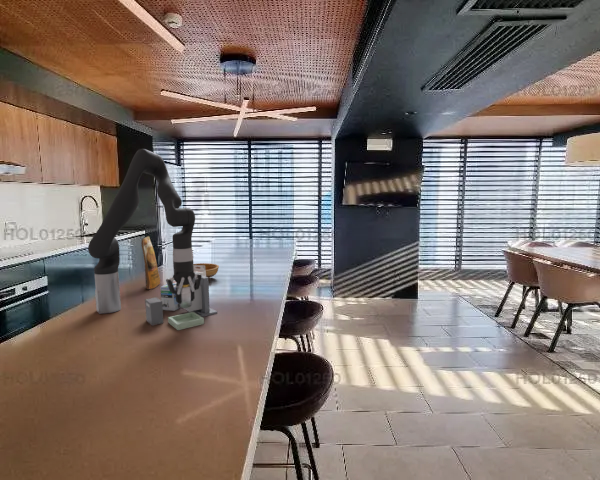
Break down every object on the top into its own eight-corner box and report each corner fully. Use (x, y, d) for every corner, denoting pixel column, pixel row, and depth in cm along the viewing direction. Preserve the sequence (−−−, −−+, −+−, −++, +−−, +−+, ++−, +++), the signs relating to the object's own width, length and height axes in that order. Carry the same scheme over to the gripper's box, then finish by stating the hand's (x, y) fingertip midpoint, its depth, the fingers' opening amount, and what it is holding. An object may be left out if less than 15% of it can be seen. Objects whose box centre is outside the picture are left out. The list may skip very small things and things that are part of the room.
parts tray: (177, 330, 134) (177, 324, 133) (168, 322, 142) (167, 317, 141) (204, 323, 140) (203, 318, 140) (193, 316, 148) (193, 311, 148)
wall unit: (191, 319, 145) (189, 281, 143) (177, 309, 158) (175, 274, 156) (217, 313, 153) (215, 277, 151) (201, 304, 165) (200, 270, 163)
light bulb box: (174, 311, 156) (173, 287, 155) (161, 310, 157) (159, 286, 156) (187, 303, 166) (186, 281, 165) (174, 303, 168) (172, 280, 166)
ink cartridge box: (187, 294, 181) (186, 266, 179) (191, 292, 186) (190, 264, 184) (203, 295, 180) (202, 266, 179) (207, 292, 185) (205, 265, 184)
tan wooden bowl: (180, 275, 225) (180, 263, 224) (219, 273, 230) (219, 261, 229) (174, 287, 196) (173, 273, 195) (219, 284, 201) (218, 271, 200)
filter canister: (182, 308, 137) (181, 286, 136) (178, 305, 141) (177, 284, 139) (193, 306, 140) (192, 284, 139) (188, 303, 143) (187, 282, 142)
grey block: (151, 325, 139) (150, 303, 138) (146, 320, 144) (145, 299, 143) (163, 322, 142) (162, 301, 141) (157, 318, 147) (156, 297, 146)
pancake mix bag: (139, 290, 190) (136, 238, 186) (151, 282, 209) (148, 234, 205) (152, 290, 191) (149, 238, 187) (163, 281, 209) (160, 234, 206)
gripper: (196, 256, 145) (198, 296, 147) (161, 260, 136) (164, 303, 138) (204, 258, 139) (206, 300, 142) (168, 263, 130) (170, 308, 133)
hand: (185, 301), depth 140 cm, fingers closed on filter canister, 4 cm apart
